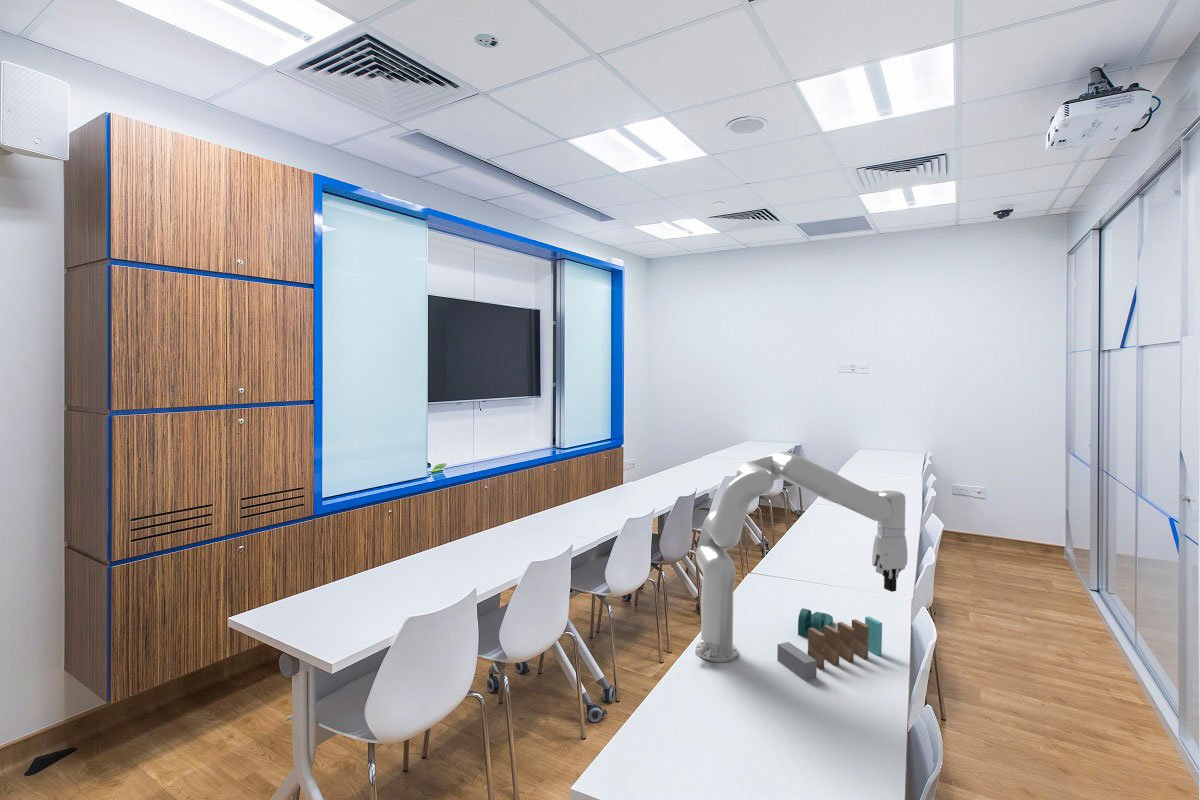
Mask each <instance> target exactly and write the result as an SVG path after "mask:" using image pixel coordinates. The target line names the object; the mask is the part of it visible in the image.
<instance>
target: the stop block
mask: <svg viewBox="0 0 1200 800" xmlns="http://www.w3.org/2000/svg"><path fill="white" fill-rule="evenodd" d="M776 652H777V655H776V656H777V657H776V658H777V662H779V663H780V664H782V665H783V666H784V667H785V668H787V669H788V670H790V671H791V672H793V673H794V674H796V676H798V677H799V678H800V679H802V680H803V681H809V680H814V679H817V669H818V668H817V661H816V660H815V659H813V658H812V657H810V656H809V655H808V653H806V652H804V651H803V650H802V649H800V648H799V647H797V646H796V645H795V644H793V643H791V642H790V641H787V642H781V643H778V644H777V651H776Z"/></svg>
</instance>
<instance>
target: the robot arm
mask: <svg viewBox="0 0 1200 800" xmlns="http://www.w3.org/2000/svg"><path fill="white" fill-rule="evenodd" d="M779 479H780V480H781V479H782V480H784V481H786V482H788V483H790V484H792V485H794V486H796V487H798V488H801V489H802V490H805V491H807V492H809V493H811V494H813V495H816V496H817V497H819V498H822V499H823V500H826V501H828V502H830V503H834V504H837V505H840V506H842V507H844V508H846V509H848V510H850V511H853V512H855V513H857V514H859V515H861V516H863V517H865V518H868V519H870V520H872V521H875V522H877V534H876V535H875V537H874V541H873V547H872V558H871V559H872V560H871V564H872V566H873V567H875V573H877V574H881V575H882V577H883V589H885V590H886V591H889V592H891V593H893V592H896V591H897V579H898V578H899V574H900V572H902V571H904V570H905V569H906V566H907V564H908V543H907V537H906V496H905V494H904V493H903V492H900V491H897V490H882V491H878V490H868V489H867V488H865V487H863V486H861V485H858V484H856V483H854V482H853V481H852V480H851V481H850V480H849V479H847V478H845V477H844V476H841V475H839V474H838V473H836V472H834V471H832V470H829V469H827V468H825V467H823V466H821V465H819V464H816V463H814V462H812V461H811V460H808V459H805V458H803V457H801V456H799V455H797V454H794V453H792V452H789V451H779V452H778V451H777V452H775V453H772V454H767V455H764V456H762V457H759V458H754V459H753V460H750V461H746V462H744V463H743V464H741V465H740V466H739V467H738V468H737V471H736V478H734V479H733V480H732V481H730V482H729V483H728V484H727V486H726V487H725V488H724V490H723V492H722V494H721V496H720V500H719V502H718V503H719V504H718V507H717V509H716V510H712V511H711V512H710V513H709V514H707V516H706V517H705V518H704V521H703V523H702V527H701V530H700V534H699V538H698V539H699V540H698V542H697V546H696V551H695V561H696V563H697V566H698V568H700V571H701V572H702V584H701V593H700V594H701V598H700V599H701V601H700V603H701V604H700V605H701V607H700V608H701V610H700V612H701V613H700V614H701V615H700V617H701V618H700V625H701V627H700V638H701V639H700V641H699V642H698V643H697V644H696V646H695V653H694V654H695V656H696V657H698V658H699V657H700V658H702V659H704V660H706V661H709V662H710V661H711V662H713V663H726V662H727V663H729V662H731V661H733V660H736V658H737V657H738V655H739V651H738V648H737V647H736V645H734V643H733V641H734V588H735V587H734V586H735V581H736V567H735V563H734V561H733V559H732V558H731V556H730V555H729V553H728V552H727V551H728V549H732V548H734V547H736V546H737V545H738V543H739V541H740V540H741V536H742V532H743V528H744V523H745V520H746V515H747V513H748V510H749V507H750V505H751V504H752V502H753V501H754V500H755V499H757V498H758V497H761V496H764V495H766V494H768V493H769V492H771V491H772V488H773V487H774V485H775V484H774V483H775V481H777V480H779Z"/></svg>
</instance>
